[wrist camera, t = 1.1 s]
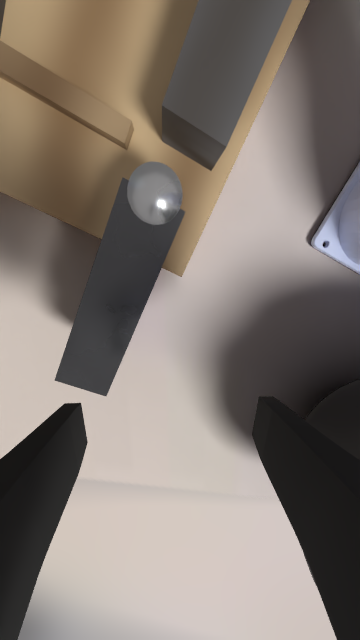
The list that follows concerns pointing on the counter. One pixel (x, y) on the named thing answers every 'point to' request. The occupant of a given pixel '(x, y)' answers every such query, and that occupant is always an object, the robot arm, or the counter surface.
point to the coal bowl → (340, 419)
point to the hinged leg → (122, 276)
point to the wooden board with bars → (132, 99)
